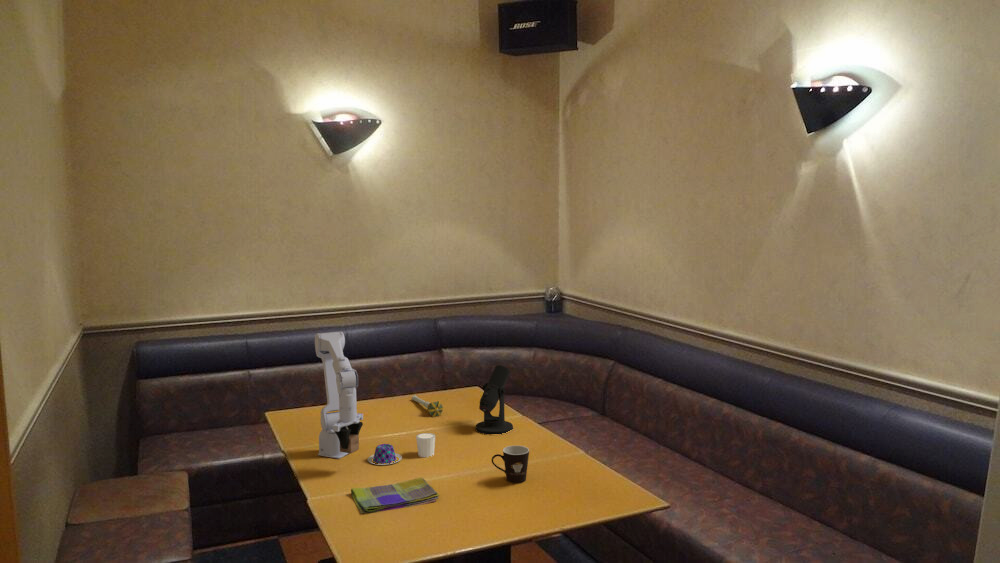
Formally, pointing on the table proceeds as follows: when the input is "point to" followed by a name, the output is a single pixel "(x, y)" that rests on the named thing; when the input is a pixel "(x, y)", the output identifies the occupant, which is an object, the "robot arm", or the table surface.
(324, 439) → the robot arm
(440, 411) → the light stick
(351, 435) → the walnut block
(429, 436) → the white tapered cup
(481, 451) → the table surface
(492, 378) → the microphone
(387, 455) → the pudding
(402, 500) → the dish towel
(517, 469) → the coffee mug
